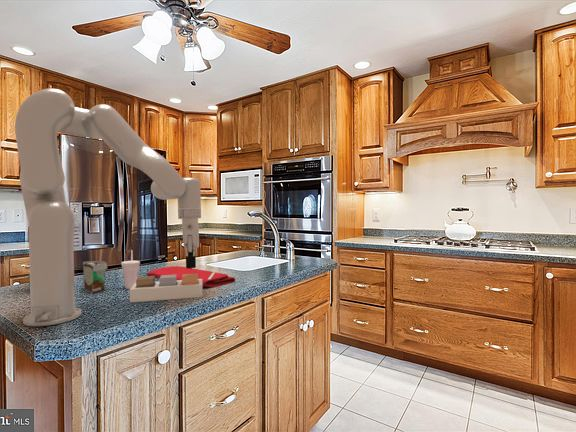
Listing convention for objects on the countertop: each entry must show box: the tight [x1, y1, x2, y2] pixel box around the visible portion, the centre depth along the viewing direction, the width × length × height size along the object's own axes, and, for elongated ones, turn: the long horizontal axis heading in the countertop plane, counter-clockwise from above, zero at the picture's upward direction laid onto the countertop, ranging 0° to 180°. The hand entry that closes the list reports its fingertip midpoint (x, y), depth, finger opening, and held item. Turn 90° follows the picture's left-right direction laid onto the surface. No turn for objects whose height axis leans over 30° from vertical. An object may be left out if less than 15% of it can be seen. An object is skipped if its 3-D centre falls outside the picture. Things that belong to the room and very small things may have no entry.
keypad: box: [129, 279, 203, 303], centre depth 109 cm, size 10×22×4 cm, turn 105°
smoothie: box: [120, 249, 141, 290], centre depth 120 cm, size 6×6×14 cm
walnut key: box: [136, 275, 156, 288], centre depth 107 cm, size 5×5×3 cm
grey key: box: [159, 275, 177, 286], centre depth 109 cm, size 5×5×3 cm
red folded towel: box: [146, 265, 236, 288], centre depth 136 cm, size 16×41×4 cm, turn 51°
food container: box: [82, 260, 108, 295], centre depth 117 cm, size 12×6×10 cm, turn 47°
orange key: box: [182, 273, 198, 285], centre depth 111 cm, size 5×5×3 cm
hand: (191, 267), depth 111 cm, fingers closed
